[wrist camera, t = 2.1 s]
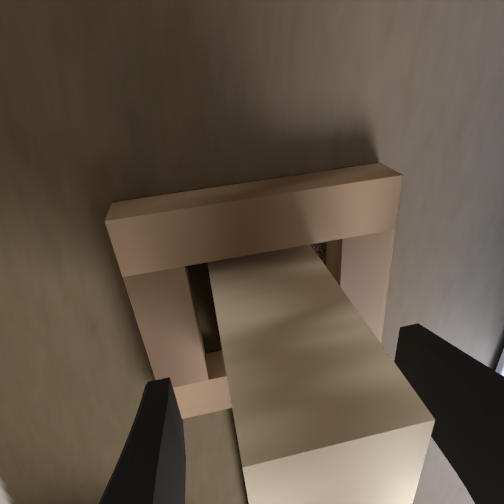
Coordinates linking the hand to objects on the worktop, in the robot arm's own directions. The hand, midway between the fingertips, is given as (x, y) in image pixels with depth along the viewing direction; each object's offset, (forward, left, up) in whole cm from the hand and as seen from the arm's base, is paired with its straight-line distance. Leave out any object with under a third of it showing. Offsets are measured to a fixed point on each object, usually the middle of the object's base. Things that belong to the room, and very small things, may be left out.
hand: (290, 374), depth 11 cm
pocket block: (0, 0, -4) cm, 4 cm away
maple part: (0, 0, -5) cm, 5 cm away
